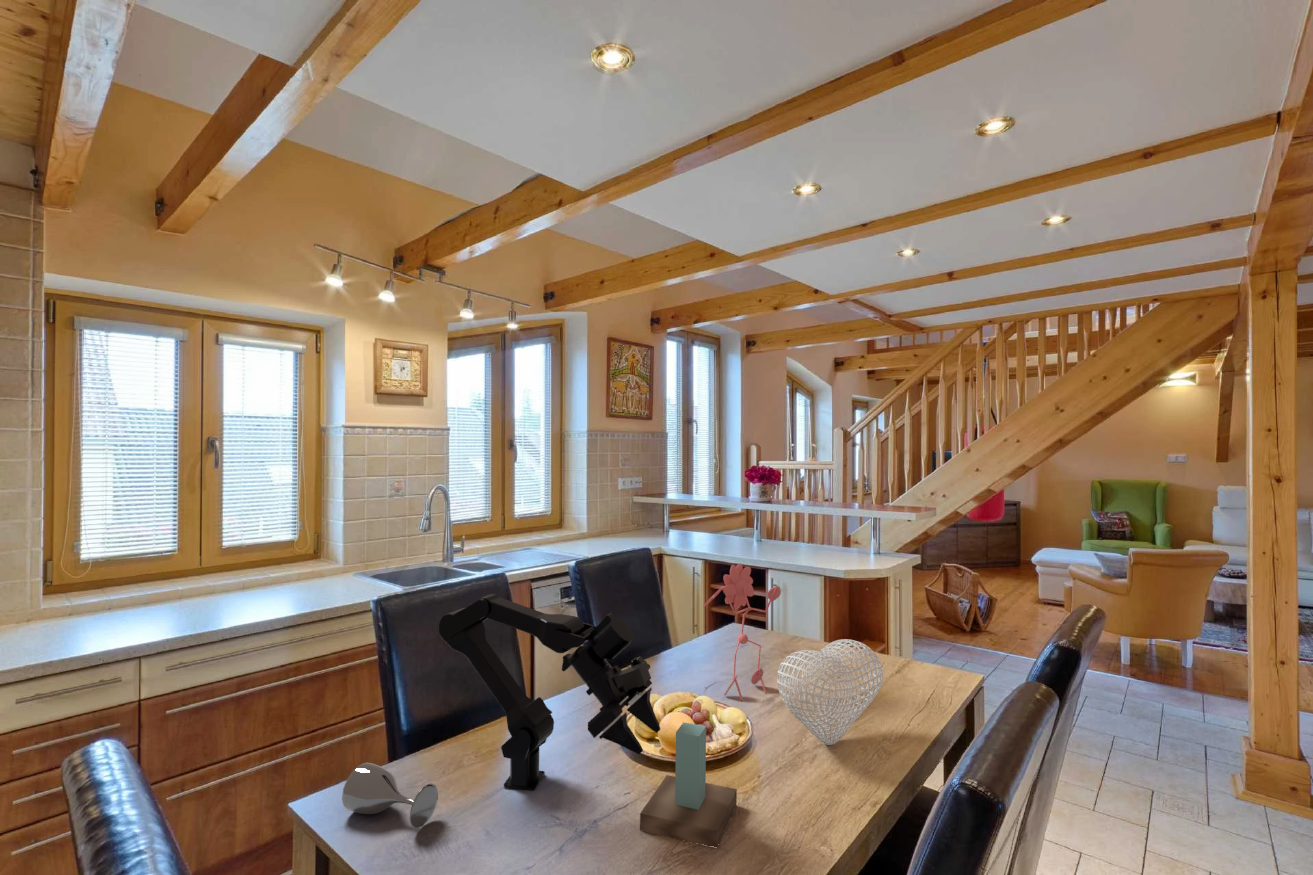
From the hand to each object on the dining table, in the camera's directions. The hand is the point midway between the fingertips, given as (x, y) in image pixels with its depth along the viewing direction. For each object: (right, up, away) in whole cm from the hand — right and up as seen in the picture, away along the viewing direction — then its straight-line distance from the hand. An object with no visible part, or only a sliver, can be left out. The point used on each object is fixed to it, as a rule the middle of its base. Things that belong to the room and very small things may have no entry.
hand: (650, 741), depth 119 cm
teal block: (+7, -9, -3) cm, 12 cm away
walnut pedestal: (+7, -12, -3) cm, 15 cm away
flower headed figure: (+23, -14, +58) cm, 64 cm away
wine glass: (-40, -8, -6) cm, 41 cm away
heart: (+41, -13, +26) cm, 50 cm away
